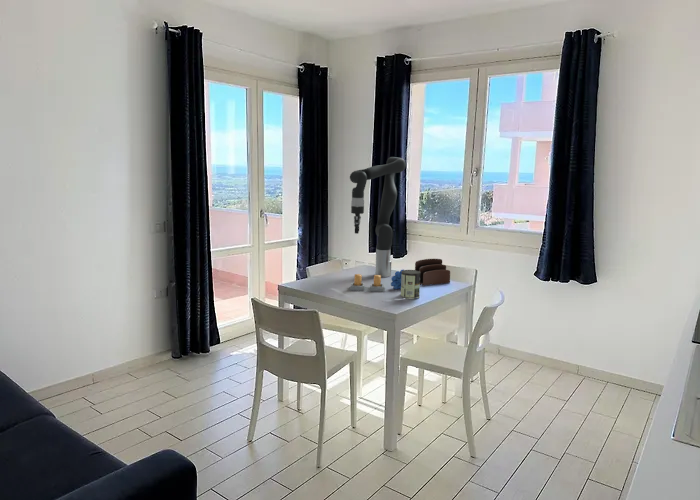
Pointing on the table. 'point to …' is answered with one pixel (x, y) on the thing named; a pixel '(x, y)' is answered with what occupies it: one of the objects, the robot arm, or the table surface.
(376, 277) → the seated jaw peg
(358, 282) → the loose jaw peg
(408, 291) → the coffee can
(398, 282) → the grapes
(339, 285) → the table surface
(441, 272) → the letter holder
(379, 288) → the grey peg socket base
